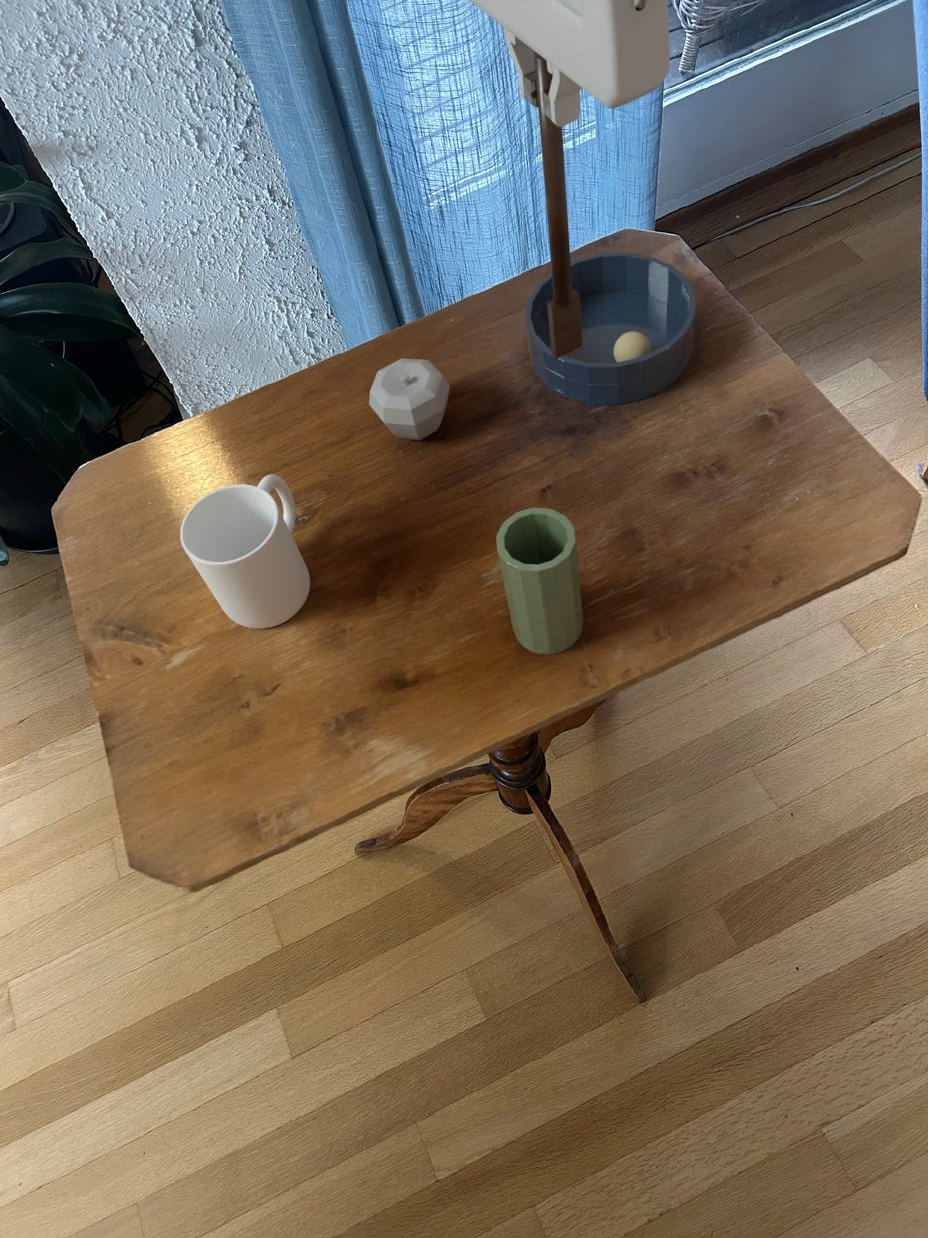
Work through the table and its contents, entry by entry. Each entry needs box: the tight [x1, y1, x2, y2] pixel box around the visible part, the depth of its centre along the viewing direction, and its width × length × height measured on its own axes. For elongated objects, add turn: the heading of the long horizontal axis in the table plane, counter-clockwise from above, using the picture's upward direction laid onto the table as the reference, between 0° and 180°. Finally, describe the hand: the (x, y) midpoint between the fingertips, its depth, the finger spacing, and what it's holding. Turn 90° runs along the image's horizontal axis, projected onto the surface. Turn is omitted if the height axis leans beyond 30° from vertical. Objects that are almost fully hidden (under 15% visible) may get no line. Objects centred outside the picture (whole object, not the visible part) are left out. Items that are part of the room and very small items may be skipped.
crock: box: [495, 507, 584, 655], centre depth 78 cm, size 6×6×12 cm
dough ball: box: [614, 331, 652, 362], centre depth 95 cm, size 4×4×4 cm
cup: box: [179, 473, 311, 630], centre depth 86 cm, size 8×12×10 cm
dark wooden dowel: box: [534, 51, 582, 359], centre depth 68 cm, size 2×1×24 cm, turn 118°
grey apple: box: [368, 357, 451, 441], centre depth 95 cm, size 8×8×7 cm
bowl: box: [524, 251, 697, 406], centre depth 97 cm, size 16×16×5 cm
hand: (550, 108), depth 61 cm, fingers closed on dark wooden dowel, 1 cm apart
